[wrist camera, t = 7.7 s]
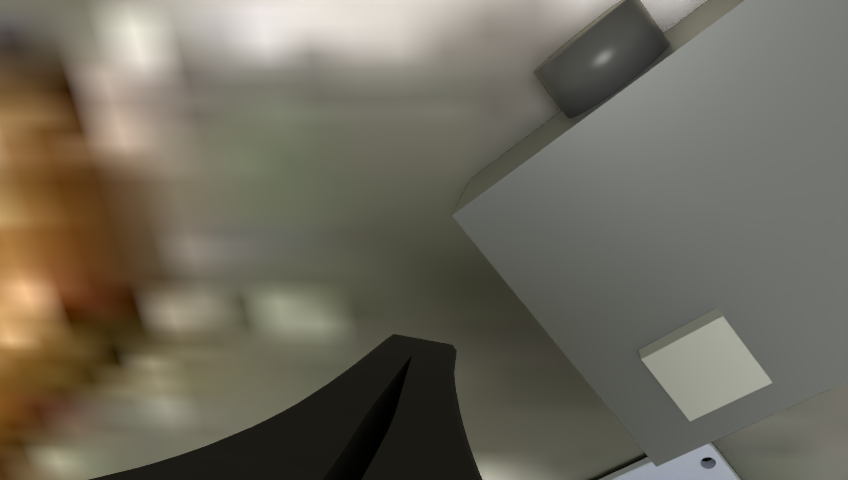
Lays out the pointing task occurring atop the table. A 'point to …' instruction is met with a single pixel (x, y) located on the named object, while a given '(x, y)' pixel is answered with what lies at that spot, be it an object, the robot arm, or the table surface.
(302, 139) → the table surface
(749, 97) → the box
